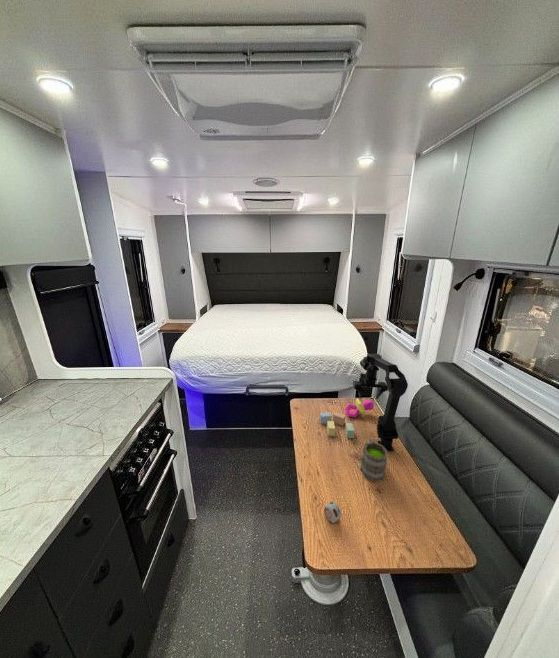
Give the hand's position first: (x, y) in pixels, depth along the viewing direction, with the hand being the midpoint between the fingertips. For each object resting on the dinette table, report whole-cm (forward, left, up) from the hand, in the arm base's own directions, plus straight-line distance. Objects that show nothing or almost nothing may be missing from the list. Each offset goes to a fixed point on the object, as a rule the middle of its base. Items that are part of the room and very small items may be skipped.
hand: (368, 398), depth 151 cm
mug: (-37, +7, -14) cm, 40 cm away
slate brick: (-5, +25, -13) cm, 29 cm away
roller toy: (-62, +29, -14) cm, 70 cm away
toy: (+4, +3, -14) cm, 14 cm away
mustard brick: (-14, +23, -13) cm, 30 cm away
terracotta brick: (-5, +17, -13) cm, 22 cm away
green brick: (-15, +13, -13) cm, 24 cm away
